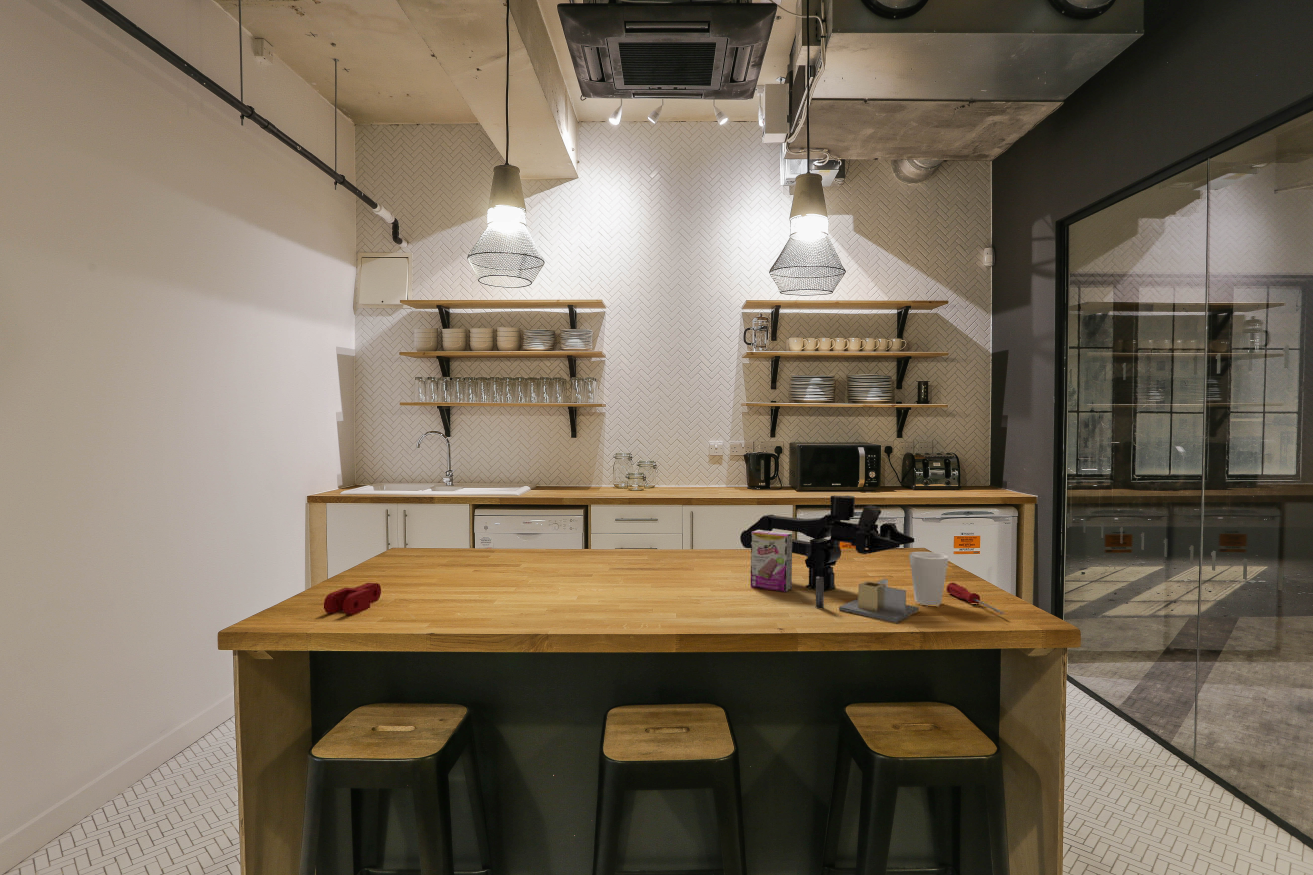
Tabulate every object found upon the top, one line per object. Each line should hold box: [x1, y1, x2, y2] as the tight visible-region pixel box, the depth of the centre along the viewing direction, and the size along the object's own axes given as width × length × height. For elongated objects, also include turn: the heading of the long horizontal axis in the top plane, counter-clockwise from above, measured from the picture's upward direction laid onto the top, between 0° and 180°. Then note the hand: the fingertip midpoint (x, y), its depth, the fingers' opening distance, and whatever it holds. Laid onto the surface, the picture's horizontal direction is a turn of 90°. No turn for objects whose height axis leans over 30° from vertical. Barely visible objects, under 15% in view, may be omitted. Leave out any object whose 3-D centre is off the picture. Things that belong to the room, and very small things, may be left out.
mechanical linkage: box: [323, 582, 382, 616], centre depth 165 cm, size 16×7×5 cm, turn 168°
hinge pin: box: [815, 576, 825, 609], centre depth 168 cm, size 2×2×8 cm
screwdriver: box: [946, 582, 1006, 615], centre depth 170 cm, size 4×25×4 cm, turn 3°
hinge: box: [857, 578, 907, 615], centre depth 164 cm, size 11×11×6 cm
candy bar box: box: [750, 530, 793, 593], centre depth 187 cm, size 11×5×16 cm, turn 58°
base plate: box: [838, 598, 920, 624], centre depth 165 cm, size 15×14×1 cm
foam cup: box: [909, 551, 949, 605], centre depth 172 cm, size 10×9×13 cm
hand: (906, 542), depth 170 cm, fingers open, 9 cm apart
